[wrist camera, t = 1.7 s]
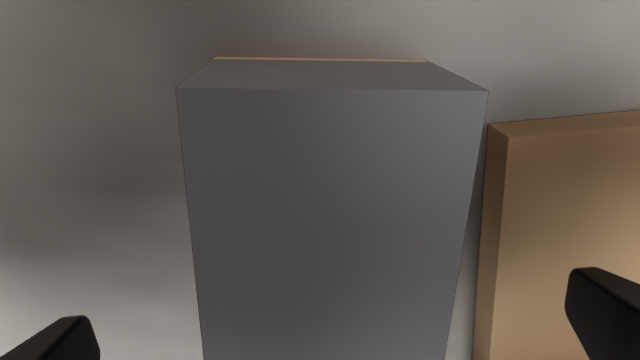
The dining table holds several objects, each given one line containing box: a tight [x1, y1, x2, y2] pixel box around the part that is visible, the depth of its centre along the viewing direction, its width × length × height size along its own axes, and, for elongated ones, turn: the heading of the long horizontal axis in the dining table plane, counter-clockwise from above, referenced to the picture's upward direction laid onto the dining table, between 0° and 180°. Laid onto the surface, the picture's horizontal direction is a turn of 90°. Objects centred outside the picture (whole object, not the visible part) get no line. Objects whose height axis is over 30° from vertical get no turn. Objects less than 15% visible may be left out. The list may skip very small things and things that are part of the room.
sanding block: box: [175, 57, 489, 360], centre depth 10 cm, size 8×5×4 cm, turn 179°
